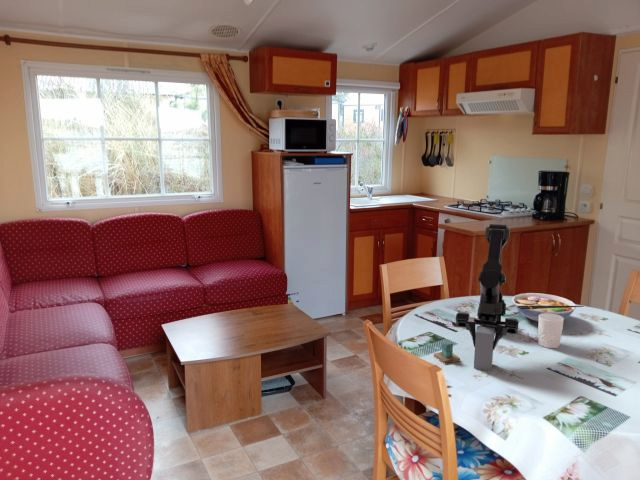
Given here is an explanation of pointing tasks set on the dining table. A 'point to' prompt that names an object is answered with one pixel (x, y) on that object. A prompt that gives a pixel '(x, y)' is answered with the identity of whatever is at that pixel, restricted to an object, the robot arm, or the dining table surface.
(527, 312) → the ramen bowl
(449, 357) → the post plinth
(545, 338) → the white cup
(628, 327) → the dining table surface
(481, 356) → the tall grey pillar
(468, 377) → the dining table surface
